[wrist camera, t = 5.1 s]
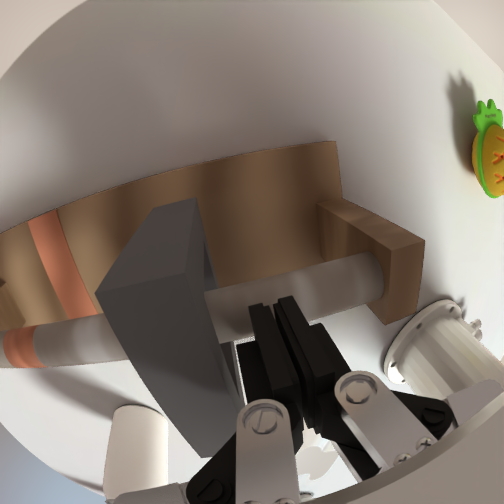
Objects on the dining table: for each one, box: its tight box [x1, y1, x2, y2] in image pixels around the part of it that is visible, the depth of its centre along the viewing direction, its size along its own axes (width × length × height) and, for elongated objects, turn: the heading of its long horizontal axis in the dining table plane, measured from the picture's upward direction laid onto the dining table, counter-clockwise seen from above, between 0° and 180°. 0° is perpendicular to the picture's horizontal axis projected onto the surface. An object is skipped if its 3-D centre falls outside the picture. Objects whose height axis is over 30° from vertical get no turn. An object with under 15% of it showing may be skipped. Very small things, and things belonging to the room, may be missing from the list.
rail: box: [0, 141, 425, 368], centre depth 14 cm, size 30×12×10 cm, turn 101°
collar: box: [94, 197, 245, 458], centre depth 12 cm, size 2×9×9 cm, turn 10°
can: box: [103, 405, 168, 504], centre depth 20 cm, size 6×6×12 cm
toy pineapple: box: [472, 99, 504, 198], centre depth 17 cm, size 7×10×5 cm
